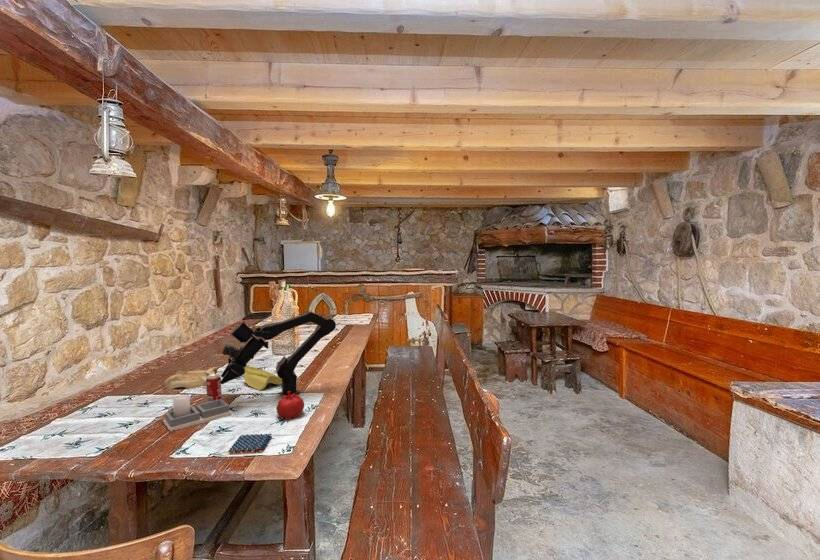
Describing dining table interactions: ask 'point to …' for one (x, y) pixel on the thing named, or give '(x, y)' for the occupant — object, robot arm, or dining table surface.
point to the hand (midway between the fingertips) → (221, 380)
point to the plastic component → (260, 378)
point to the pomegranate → (290, 406)
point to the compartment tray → (194, 412)
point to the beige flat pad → (189, 378)
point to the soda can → (213, 387)
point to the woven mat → (250, 443)
